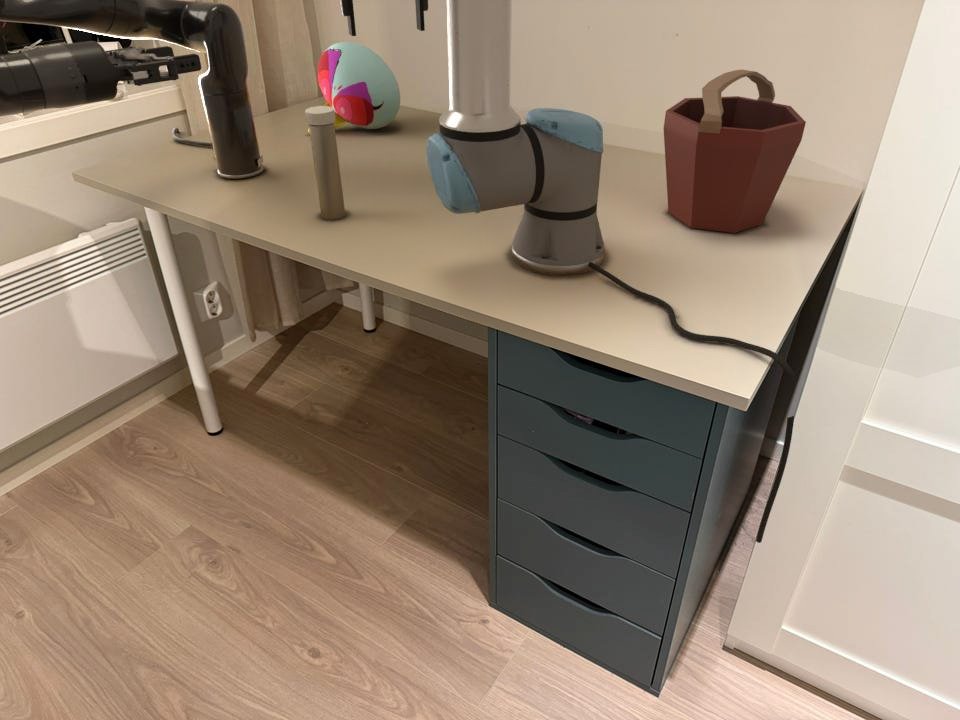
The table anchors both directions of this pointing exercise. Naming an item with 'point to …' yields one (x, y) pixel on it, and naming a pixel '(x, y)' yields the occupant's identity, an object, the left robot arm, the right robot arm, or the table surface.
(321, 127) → the tan tube
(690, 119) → the bucket
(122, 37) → the left robot arm
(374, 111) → the toy
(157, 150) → the table surface
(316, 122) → the lid
